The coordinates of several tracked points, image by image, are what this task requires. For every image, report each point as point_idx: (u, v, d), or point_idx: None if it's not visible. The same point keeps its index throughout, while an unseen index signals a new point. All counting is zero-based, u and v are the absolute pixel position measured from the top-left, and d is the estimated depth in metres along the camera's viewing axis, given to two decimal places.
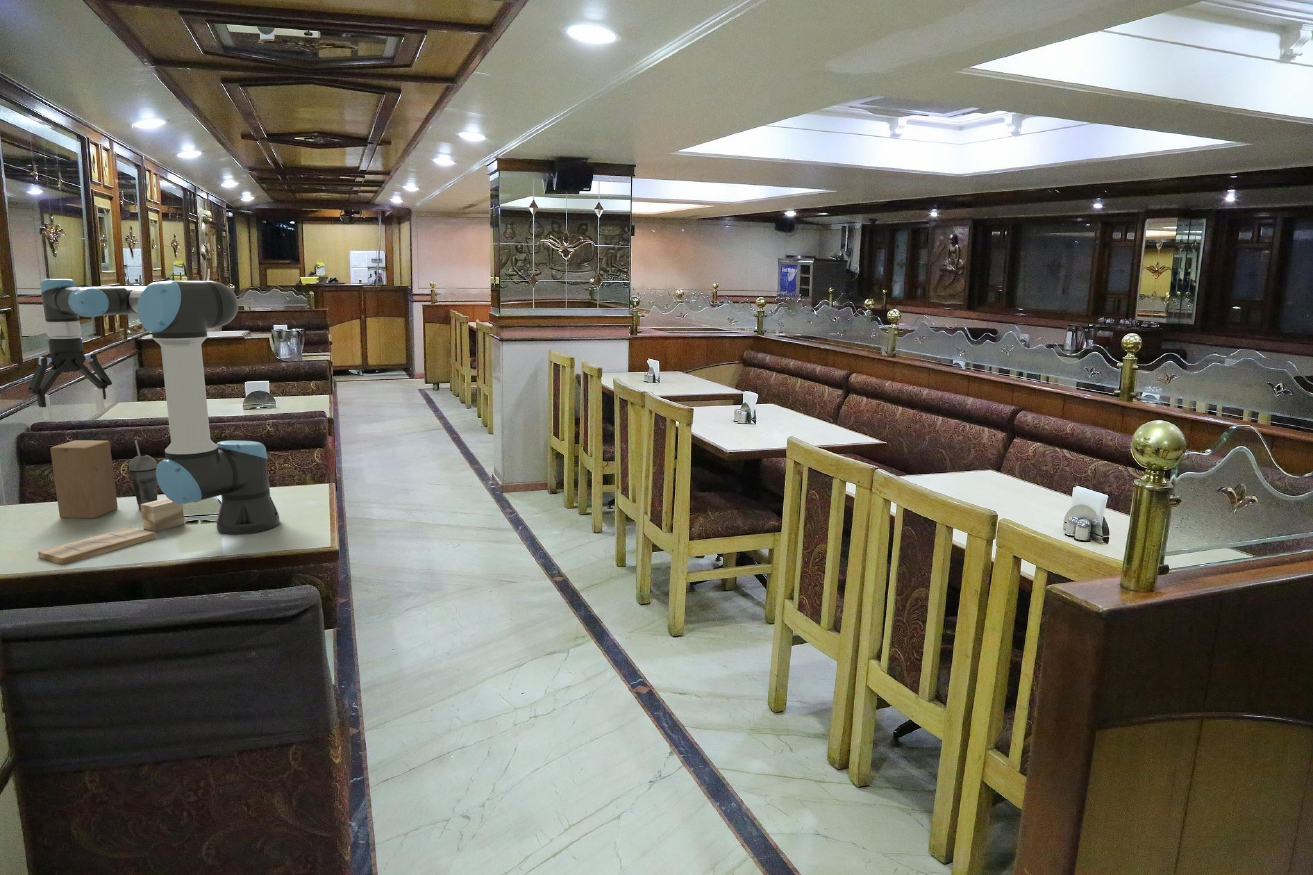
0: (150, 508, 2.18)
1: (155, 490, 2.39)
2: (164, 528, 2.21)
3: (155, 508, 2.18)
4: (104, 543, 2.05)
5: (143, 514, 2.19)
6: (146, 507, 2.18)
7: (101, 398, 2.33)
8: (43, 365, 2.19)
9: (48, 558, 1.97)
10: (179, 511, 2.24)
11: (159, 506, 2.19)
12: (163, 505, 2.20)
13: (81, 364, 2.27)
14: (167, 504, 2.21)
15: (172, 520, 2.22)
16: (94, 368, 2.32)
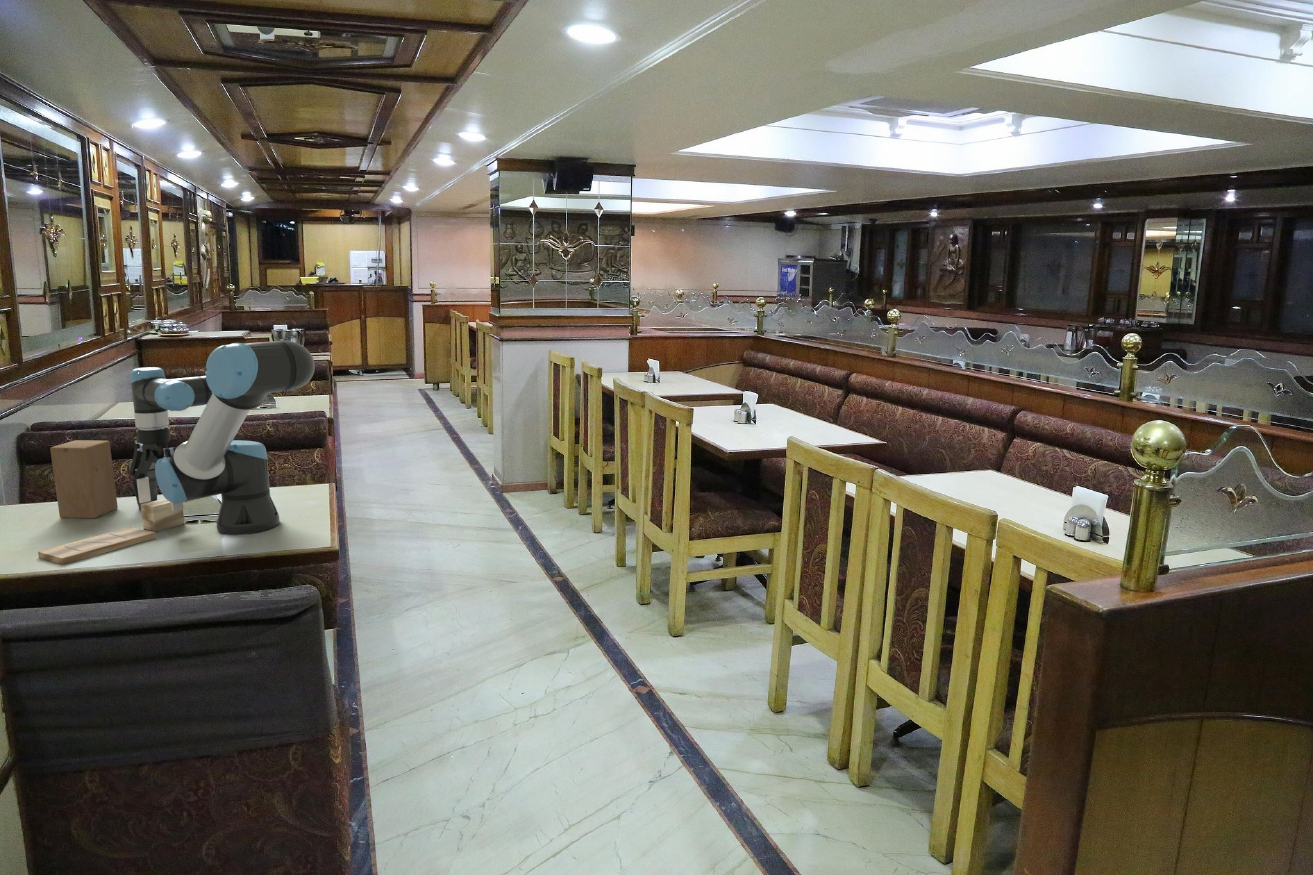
0: (150, 508, 2.18)
1: (155, 490, 2.39)
2: (164, 528, 2.21)
3: (155, 508, 2.18)
4: (104, 543, 2.05)
5: (143, 514, 2.19)
6: (146, 507, 2.18)
7: None
8: (135, 450, 2.21)
9: (48, 558, 1.97)
10: (179, 511, 2.24)
11: (159, 506, 2.19)
12: (163, 505, 2.20)
13: (155, 457, 2.17)
14: (167, 504, 2.21)
15: (172, 520, 2.22)
16: None
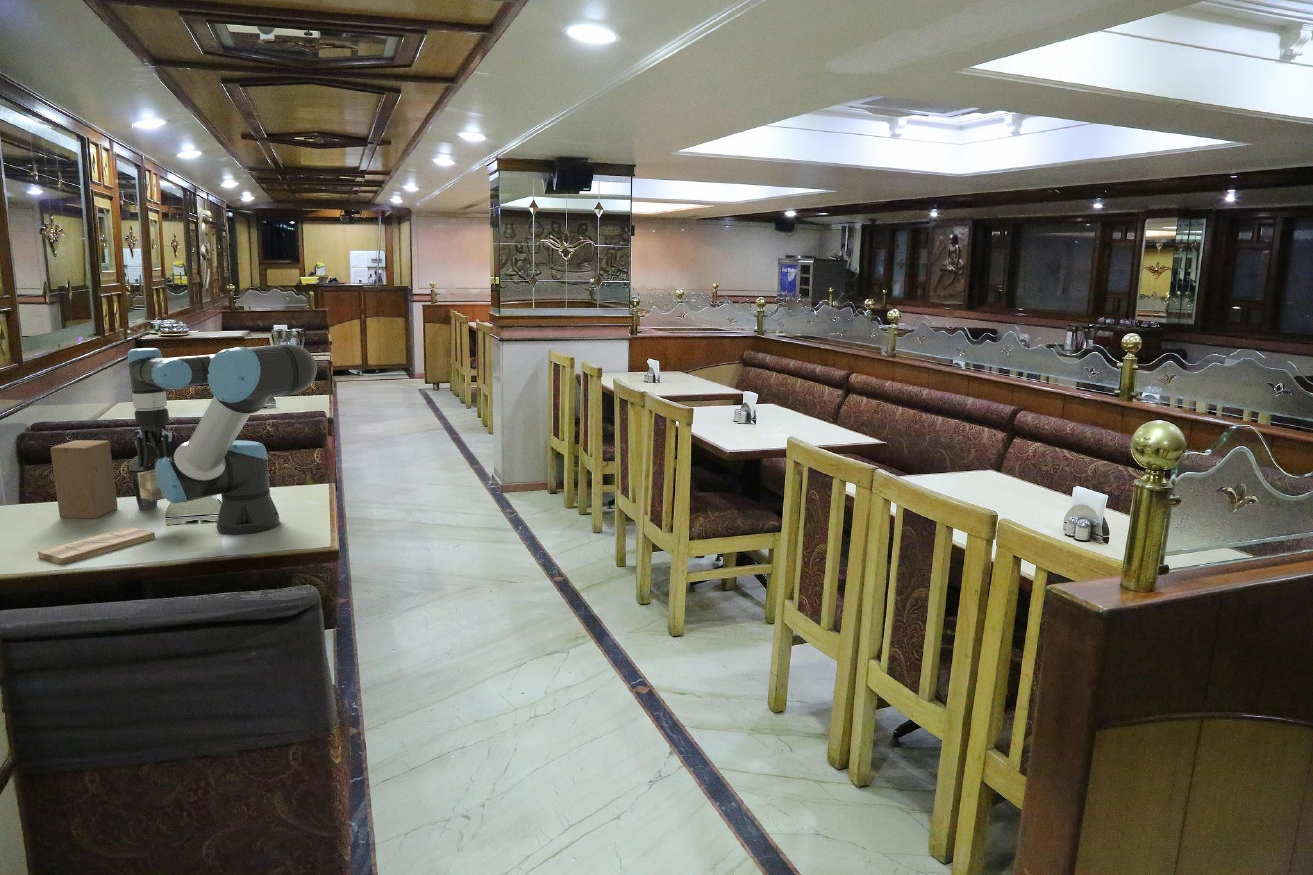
0: (147, 476, 2.16)
1: None
2: (161, 497, 2.19)
3: (152, 476, 2.16)
4: (104, 543, 2.05)
5: (140, 483, 2.18)
6: (143, 476, 2.17)
7: None
8: (136, 438, 2.20)
9: (48, 558, 1.97)
10: None
11: None
12: None
13: (152, 439, 2.16)
14: None
15: None
16: None
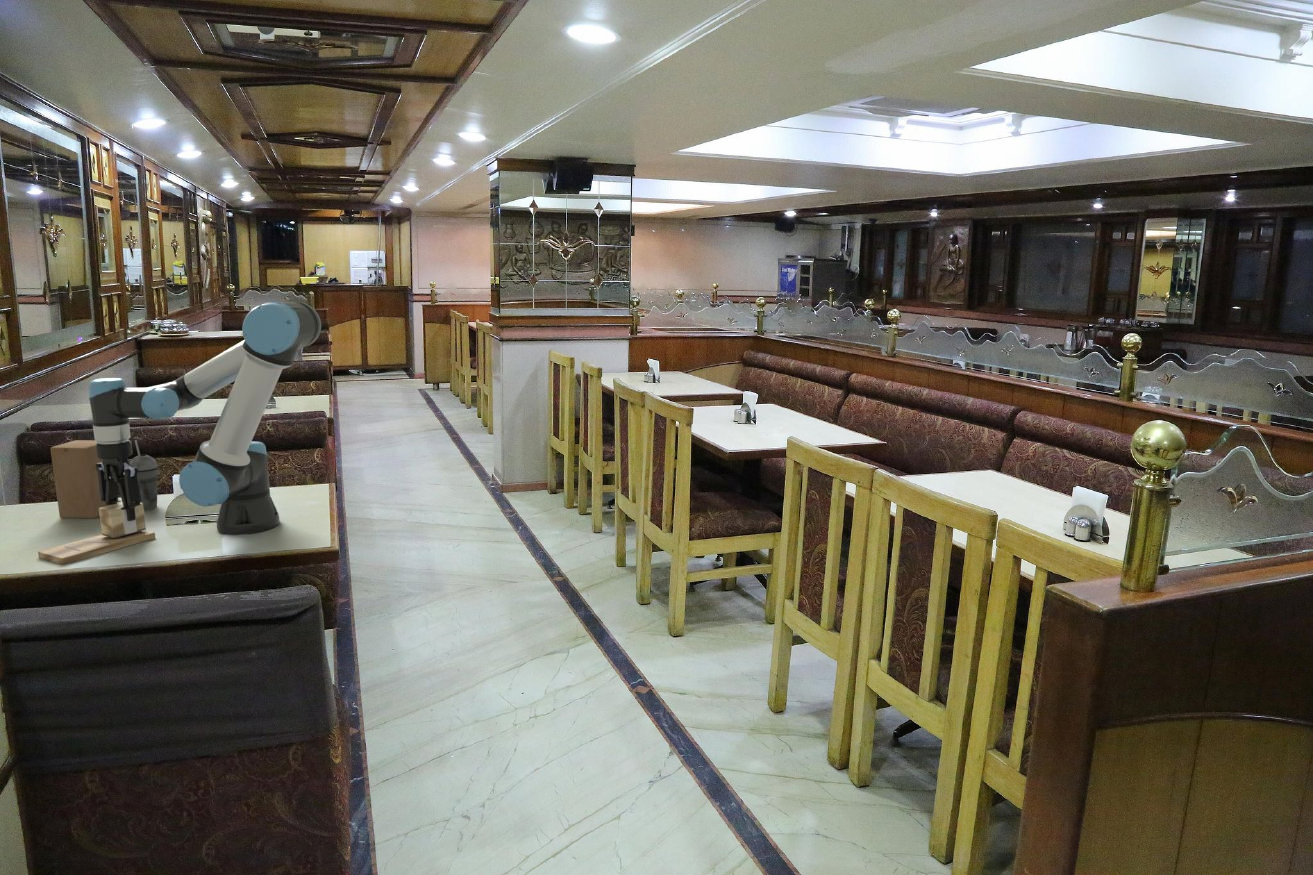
0: (108, 512, 2.06)
1: (155, 490, 2.39)
2: (123, 533, 2.09)
3: (113, 512, 2.06)
4: (104, 543, 2.05)
5: (101, 518, 2.08)
6: (104, 511, 2.07)
7: (123, 519, 2.09)
8: (98, 471, 2.10)
9: (48, 558, 1.97)
10: (140, 515, 2.12)
11: (118, 510, 2.07)
12: None
13: (114, 473, 2.06)
14: None
15: None
16: None
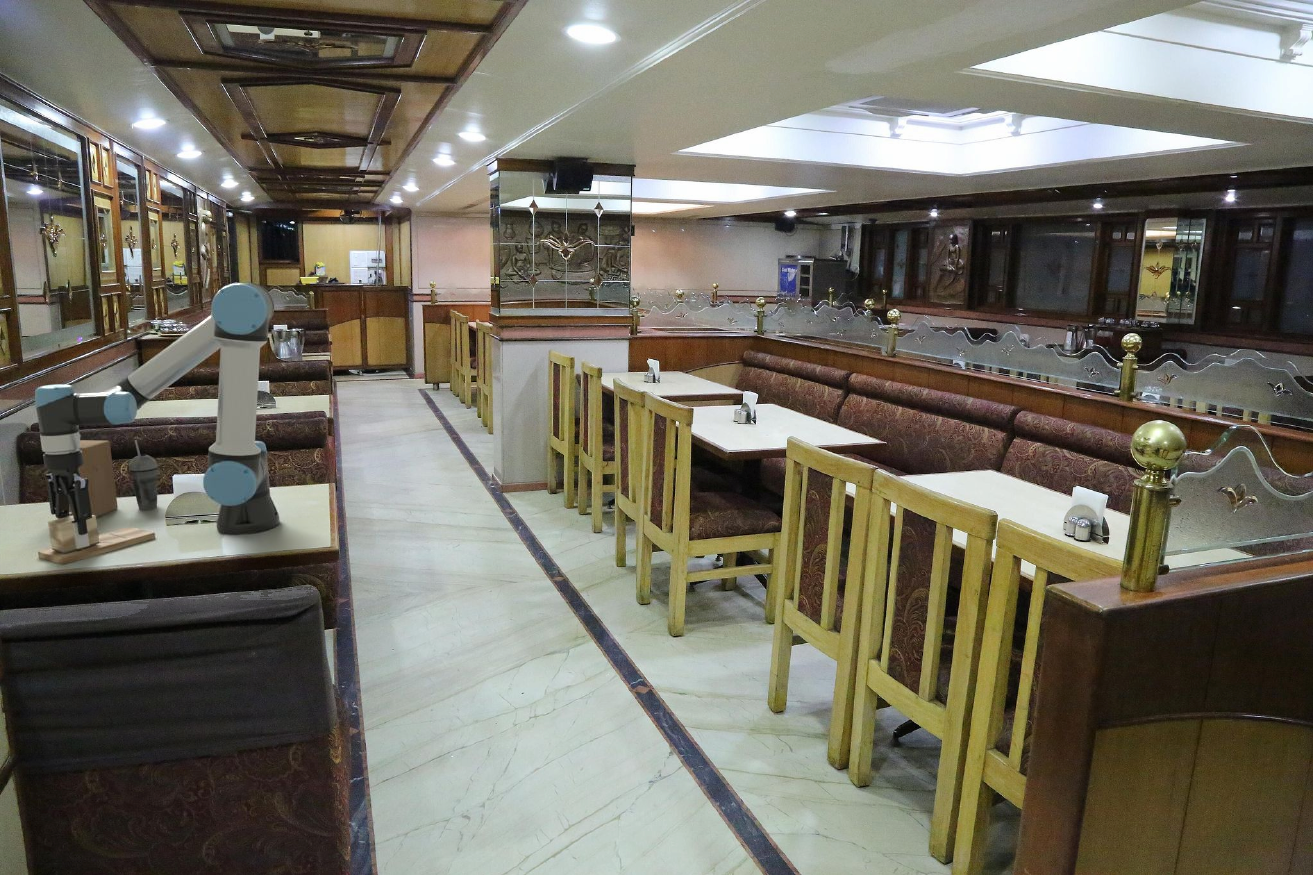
0: (57, 526, 1.96)
1: (155, 490, 2.39)
2: (75, 548, 1.99)
3: (63, 526, 1.96)
4: (104, 543, 2.05)
5: (51, 532, 1.98)
6: (53, 525, 1.97)
7: (74, 533, 1.98)
8: (47, 483, 2.00)
9: (48, 558, 1.97)
10: (92, 528, 2.02)
11: (68, 524, 1.97)
12: None
13: (63, 485, 1.96)
14: None
15: None
16: None
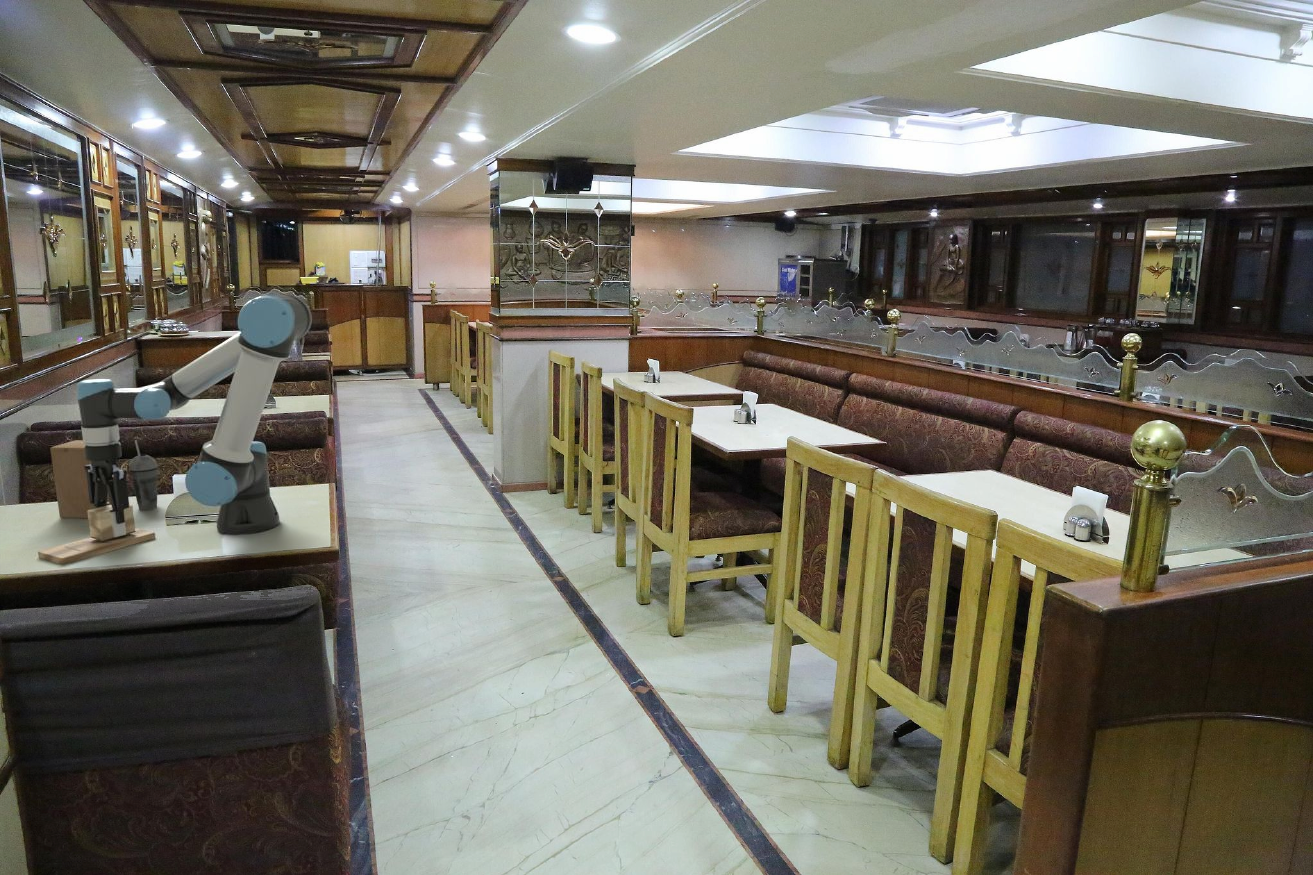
0: (96, 514, 2.04)
1: (155, 490, 2.39)
2: (112, 536, 2.07)
3: (102, 515, 2.04)
4: (104, 543, 2.05)
5: (90, 521, 2.06)
6: (93, 514, 2.05)
7: (112, 521, 2.06)
8: (86, 473, 2.08)
9: (48, 558, 1.97)
10: (129, 518, 2.10)
11: (106, 513, 2.05)
12: None
13: (103, 476, 2.04)
14: None
15: None
16: None
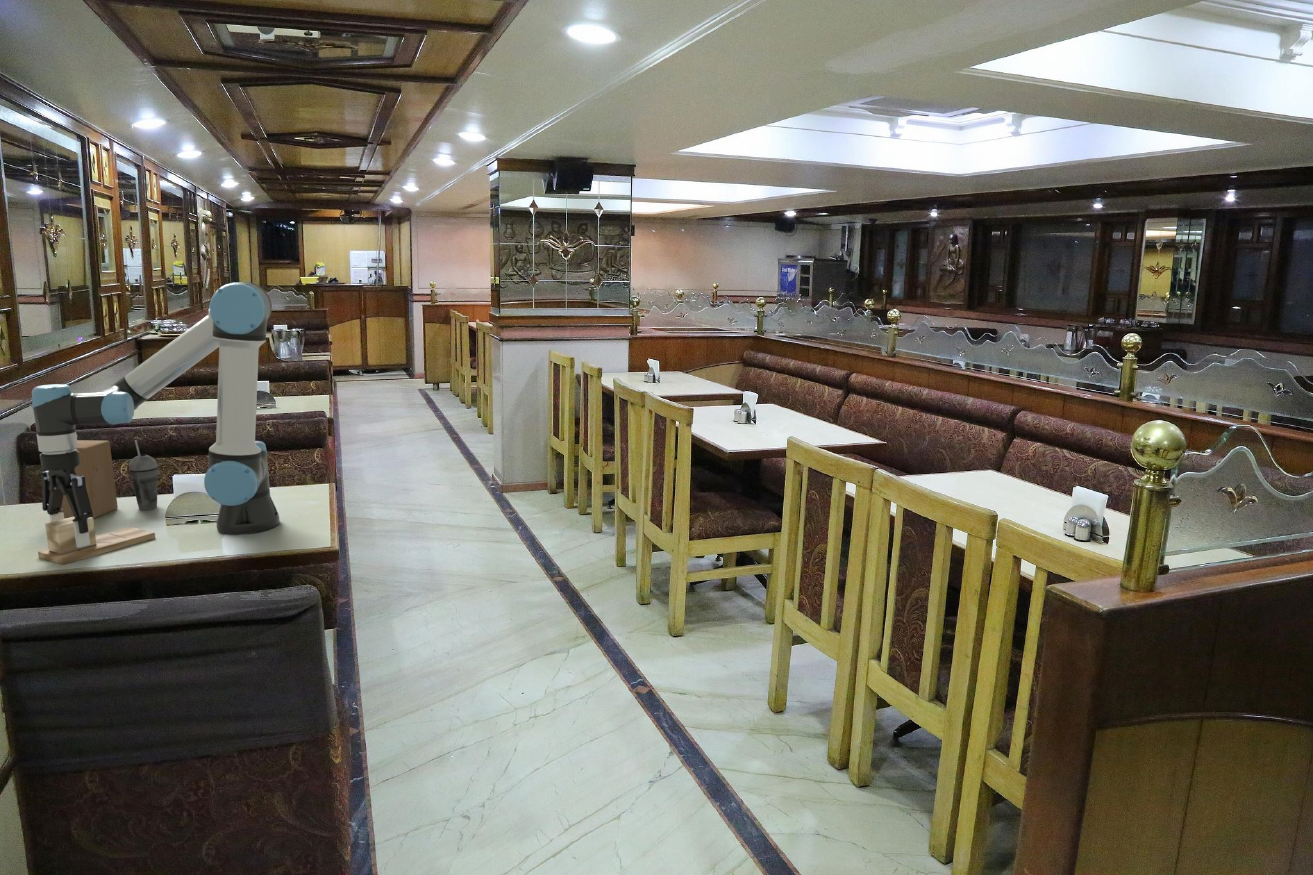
0: (55, 528, 1.96)
1: (155, 490, 2.39)
2: (72, 550, 1.98)
3: (60, 528, 1.96)
4: (104, 543, 2.05)
5: (48, 534, 1.97)
6: (51, 527, 1.96)
7: (75, 531, 1.97)
8: (42, 480, 1.99)
9: (48, 558, 1.97)
10: (90, 531, 2.02)
11: (65, 526, 1.97)
12: (70, 524, 1.98)
13: (60, 485, 1.95)
14: None
15: None
16: None
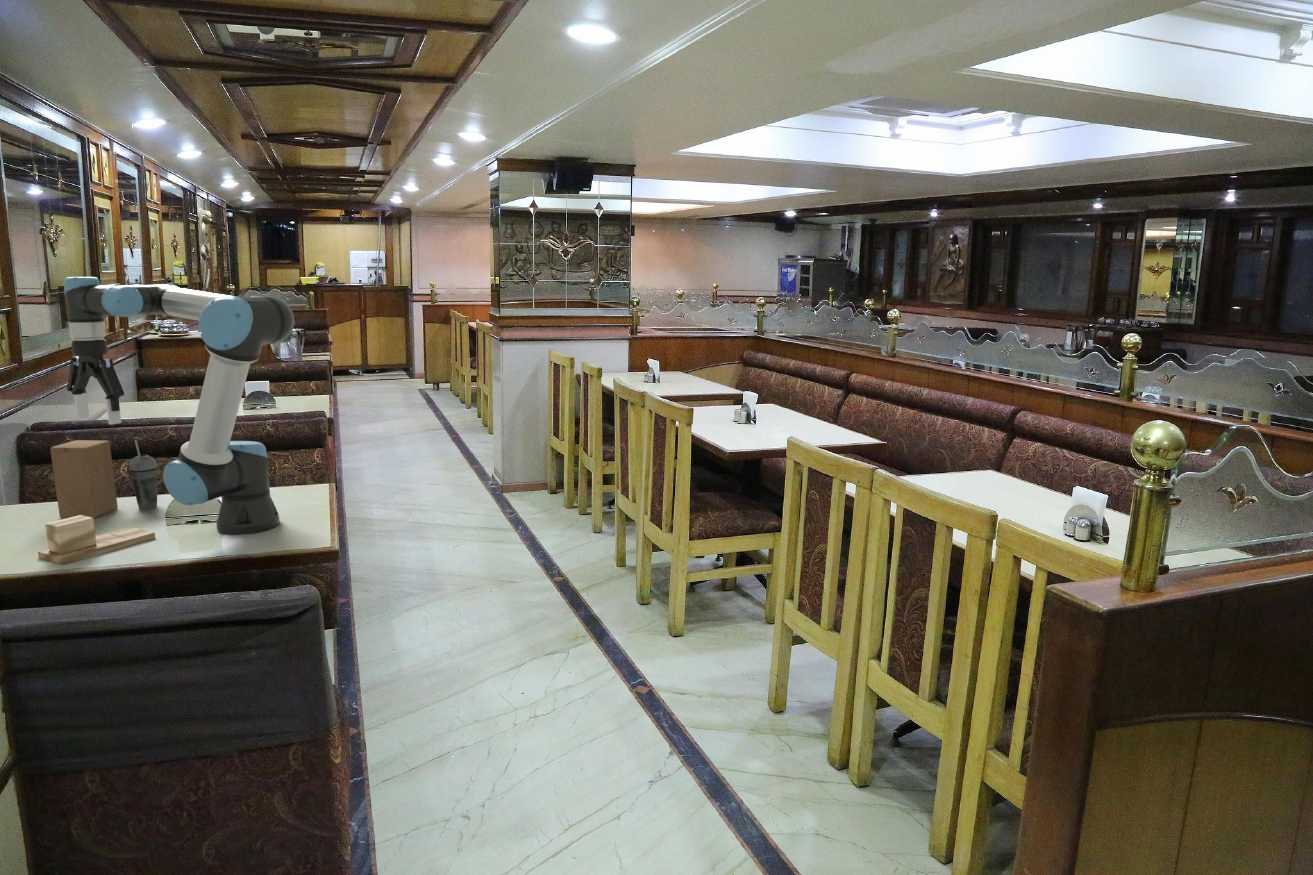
0: (55, 528, 1.96)
1: (155, 490, 2.39)
2: (72, 550, 1.98)
3: (60, 528, 1.96)
4: (104, 543, 2.05)
5: (48, 534, 1.97)
6: (51, 527, 1.96)
7: (107, 409, 2.11)
8: (71, 364, 2.15)
9: (48, 558, 1.97)
10: (90, 531, 2.02)
11: (65, 526, 1.97)
12: (70, 524, 1.98)
13: (90, 369, 2.11)
14: (75, 523, 1.98)
15: (81, 541, 2.00)
16: None
